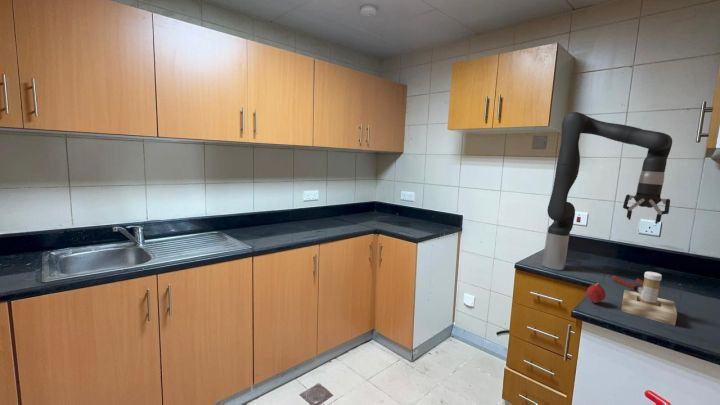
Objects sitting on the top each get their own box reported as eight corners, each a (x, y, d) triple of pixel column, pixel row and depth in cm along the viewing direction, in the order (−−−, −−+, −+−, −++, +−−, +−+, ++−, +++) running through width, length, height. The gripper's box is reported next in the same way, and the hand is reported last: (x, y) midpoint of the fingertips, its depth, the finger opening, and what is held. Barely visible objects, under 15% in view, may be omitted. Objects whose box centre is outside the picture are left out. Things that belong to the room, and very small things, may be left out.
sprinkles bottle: (642, 304, 119) (648, 270, 117) (657, 310, 115) (664, 274, 113) (635, 306, 117) (642, 271, 115) (651, 312, 113) (658, 276, 111)
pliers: (633, 297, 130) (634, 291, 130) (610, 279, 149) (611, 274, 149) (668, 302, 127) (669, 295, 127) (639, 283, 146) (640, 277, 146)
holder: (621, 311, 116) (623, 300, 115) (622, 299, 126) (624, 289, 126) (674, 325, 107) (677, 314, 106) (671, 311, 117) (673, 301, 116)
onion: (581, 299, 124) (584, 279, 123) (595, 299, 125) (598, 279, 123) (593, 306, 118) (596, 285, 117) (607, 306, 119) (611, 286, 118)
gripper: (627, 181, 133) (620, 219, 136) (675, 185, 124) (666, 226, 126) (628, 180, 138) (621, 217, 141) (674, 184, 129) (665, 223, 132)
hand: (642, 221), depth 134 cm, fingers open, 8 cm apart
